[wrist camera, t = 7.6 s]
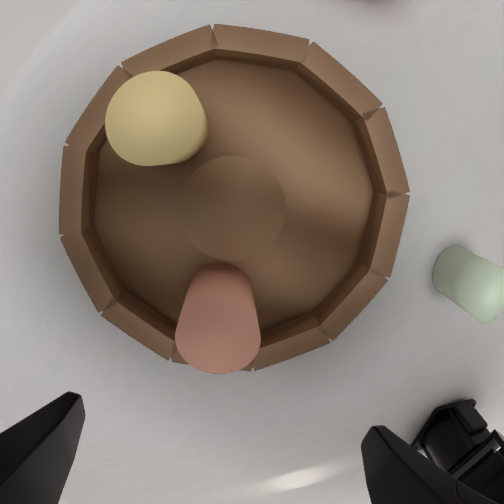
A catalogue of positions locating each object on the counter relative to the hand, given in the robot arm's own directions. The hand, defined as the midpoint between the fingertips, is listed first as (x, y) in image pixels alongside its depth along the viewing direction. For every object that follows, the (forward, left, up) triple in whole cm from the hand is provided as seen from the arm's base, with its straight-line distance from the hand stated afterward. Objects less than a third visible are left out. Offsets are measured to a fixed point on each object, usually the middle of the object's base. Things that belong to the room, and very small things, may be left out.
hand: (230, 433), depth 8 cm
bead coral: (0, +1, -10) cm, 10 cm away
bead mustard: (+8, +4, -10) cm, 14 cm away
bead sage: (+3, -15, -11) cm, 19 cm away
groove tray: (+5, +1, -11) cm, 12 cm away
